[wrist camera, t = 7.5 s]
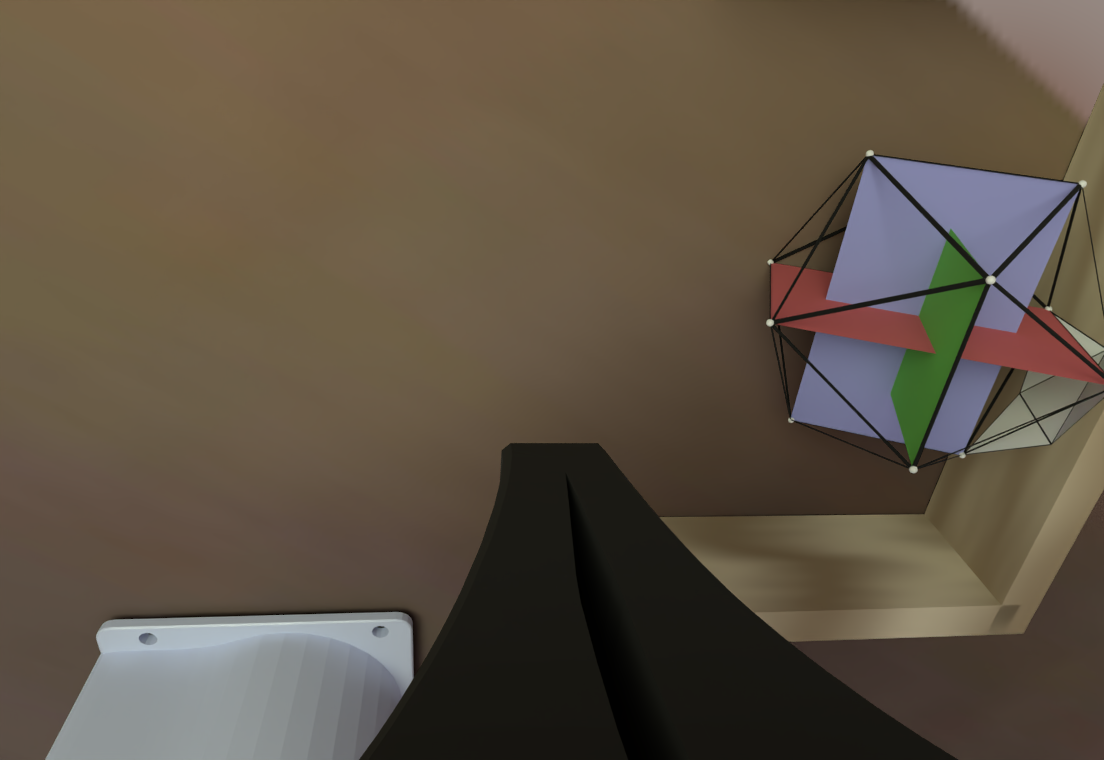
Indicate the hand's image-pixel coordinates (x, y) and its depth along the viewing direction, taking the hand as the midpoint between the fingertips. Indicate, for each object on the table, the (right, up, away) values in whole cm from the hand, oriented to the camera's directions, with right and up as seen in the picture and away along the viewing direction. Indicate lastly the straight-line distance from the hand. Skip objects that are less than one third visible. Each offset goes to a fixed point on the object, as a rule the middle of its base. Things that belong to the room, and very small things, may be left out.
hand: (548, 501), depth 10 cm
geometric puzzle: (+8, +5, +9) cm, 13 cm away
